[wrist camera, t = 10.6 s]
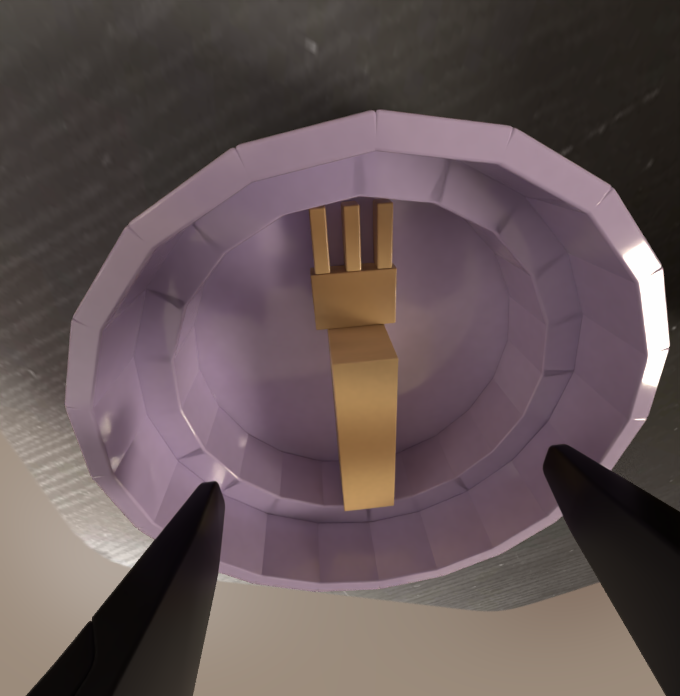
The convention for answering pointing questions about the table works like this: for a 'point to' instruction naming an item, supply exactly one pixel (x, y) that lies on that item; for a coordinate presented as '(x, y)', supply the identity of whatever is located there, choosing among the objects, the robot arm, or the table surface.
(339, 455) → the fork
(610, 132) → the table surface
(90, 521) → the table surface
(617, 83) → the table surface
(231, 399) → the bowl
